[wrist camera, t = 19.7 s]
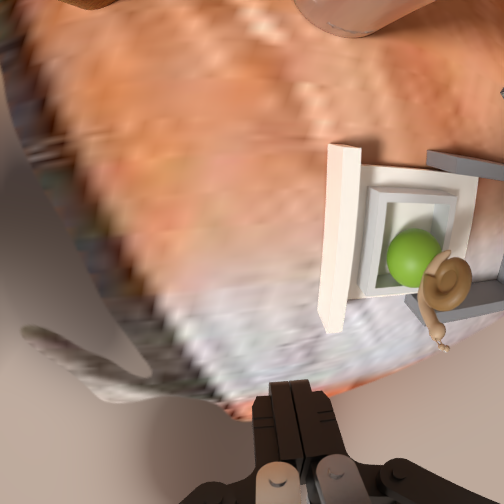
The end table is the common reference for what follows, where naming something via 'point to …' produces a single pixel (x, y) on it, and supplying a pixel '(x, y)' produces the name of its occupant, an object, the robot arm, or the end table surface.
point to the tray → (383, 225)
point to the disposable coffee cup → (88, 3)
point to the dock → (500, 291)
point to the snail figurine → (429, 276)
